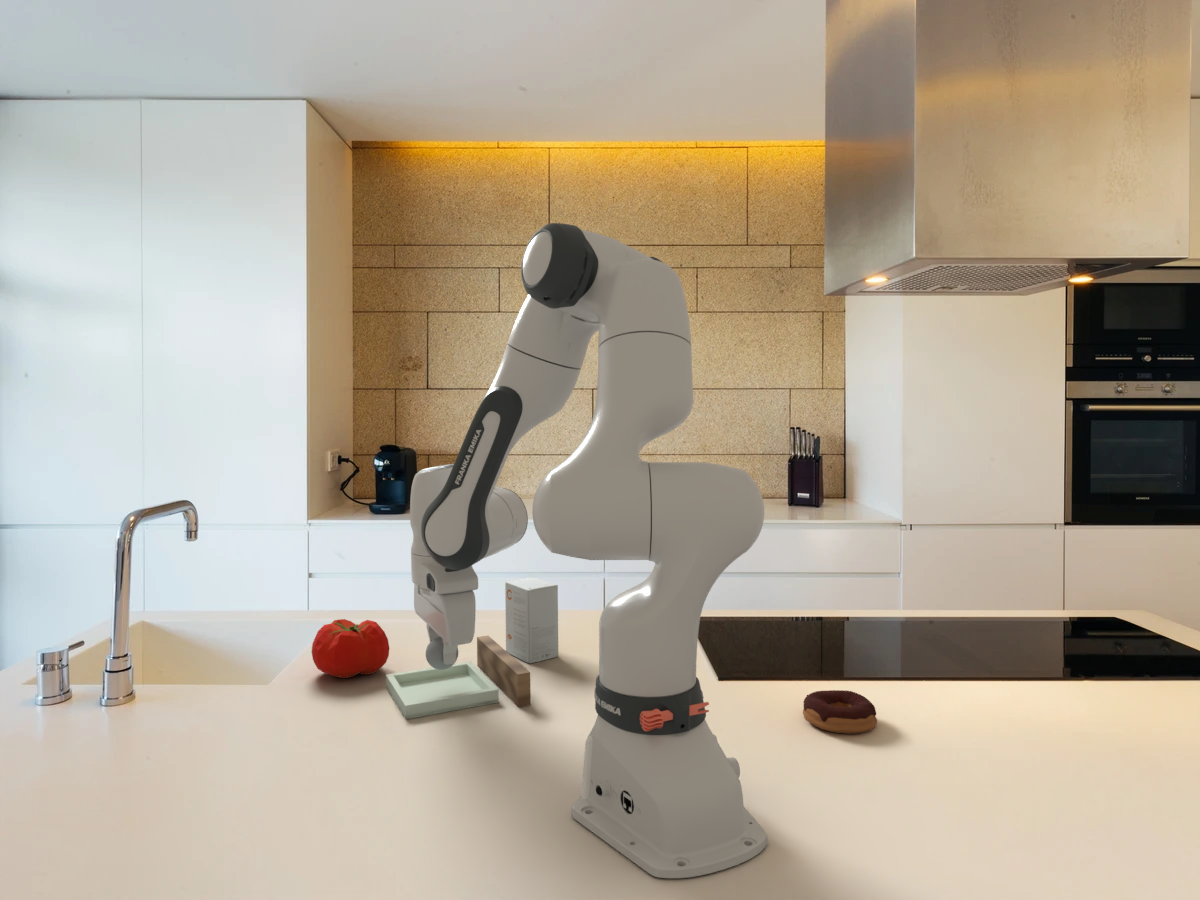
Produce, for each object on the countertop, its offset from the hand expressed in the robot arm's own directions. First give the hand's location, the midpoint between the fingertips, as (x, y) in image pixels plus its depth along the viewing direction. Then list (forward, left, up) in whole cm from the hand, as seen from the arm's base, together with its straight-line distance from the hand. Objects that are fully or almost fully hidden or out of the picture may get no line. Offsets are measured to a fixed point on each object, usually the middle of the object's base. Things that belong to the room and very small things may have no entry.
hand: (442, 656), depth 124 cm
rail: (0, -9, -6) cm, 11 cm away
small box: (+11, -19, -6) cm, 23 cm away
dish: (0, +1, -6) cm, 6 cm away
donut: (-36, -47, -6) cm, 60 cm away
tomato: (+16, +12, -6) cm, 20 cm away
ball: (0, 0, +1) cm, 1 cm away
